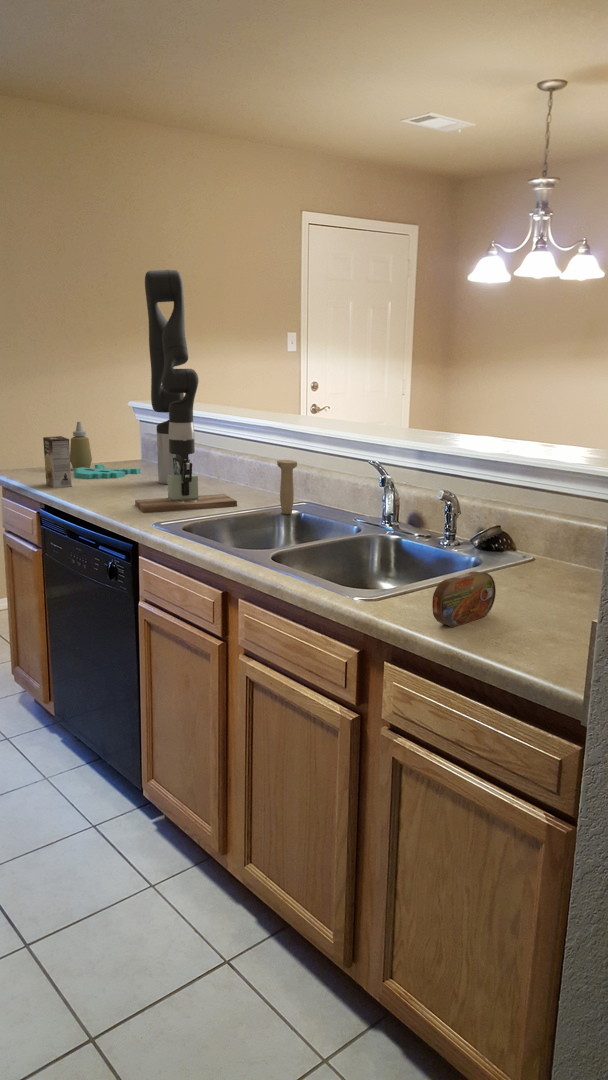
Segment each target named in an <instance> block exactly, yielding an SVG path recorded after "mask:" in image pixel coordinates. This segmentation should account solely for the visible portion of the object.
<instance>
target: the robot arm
mask: <svg viewBox="0 0 608 1080" xmlns="http://www.w3.org/2000/svg"><path fill="white" fill-rule="evenodd" d="M144 289H145V291H144V292H145V298H146V307H147V316H148V348H149V349H148V350H149V360H150V371H151V372H150V373H151V375H150V377H151V378H150V379H151V380H150V381H151V382H150V383H151V384H150V389H151V390H150V398H151V399H150V403H151V407H152V408H151V409H152V410H153V411H154V412H156V413H168V419H167V420H164V421H162V422H160V423H158V424H157V425H156V448H157V453H156V454H157V479H158V483H159V484H163V485H164V484H165V485H168V478H167V475H178V474H179V476H180V477H181V490H182V495H183V496H188V495H189V483H190V482H191V481H192V474H193V463H192V462H191V460H190V459H189V458H190V457H189V455H192V454H194V453H195V451H196V449H195V448H196V447H195V442H196V441H195V426H194V404H195V397H196V394H197V390H198V386H199V381H200V379H199V375H198V373H197V371H196V370H195V369H193V368H175V367H178V366H182V365H184V364H186V363H187V362H188V360H189V352H188V344H187V337H186V329H185V328H186V326H185V324H186V323H185V298H184V297H185V296H184V284H183V278H182V276H181V273H180V271H178V269H156V270H155V269H154V270H153V269H152V270H149V271H146V273H145V276H144ZM169 302H172V303H173V308H172V312H171V315H170V317H169V318H168V320H167V319H166V317H165V316H164V315H163V313H162V311H161V310H160V307H159V306H158V303H169ZM184 394H185V395H184ZM185 476H187V478H185Z"/></svg>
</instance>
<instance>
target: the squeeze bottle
mask: <svg viewBox="0 0 608 1080" xmlns="http://www.w3.org/2000/svg"><path fill="white" fill-rule="evenodd" d="M69 445H70V465H71V467H72V469H73V470H74V469H75V468H81V467H85V468H91V464H92V461H93V457H92V452H91V445H90V439H89V437H87V432H86V431H84V430H83V425H82V423H81V421H77V422H76V428H75V430H74V431H73V432H72V437H71V438H70V444H69Z"/></svg>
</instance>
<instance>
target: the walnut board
mask: <svg viewBox="0 0 608 1080" xmlns="http://www.w3.org/2000/svg"><path fill="white" fill-rule="evenodd" d="M134 504H135V505H134V506H136V507H137V508H139V510H140V511H142V512H143V513H156V512H157V513H158V512H159V513H160V512H169V511H171V512H172V511H173V512H174V511H184V510H186V511H187V510H198V509H199V510H201V509H213V508H224V507H226V508H228V507H238V501H237V500H236V499H234V498H232V497H231V496H229V495H227V494H225V493H221V494H205V495H203V494H202V495H198V499H193V500H178V501H172V500H170V499H169V498H168V497H162V498H161V497H160V498H159V497H158V498H146V499H135V500H134ZM200 508H201V509H200Z"/></svg>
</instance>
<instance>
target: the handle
mask: <svg viewBox="0 0 608 1080" xmlns="http://www.w3.org/2000/svg"><path fill="white" fill-rule="evenodd" d="M276 462H277V463H276V465H277V467H278V468H279V469H280V471H281V472H280V489H279V491H280V492H279V502H280V508H281V514H282V515H291V514H292V513H293V507H294V498H295V497H294V495H295V491H294V469H295V468H297V467H298V462H297V460H293V459H279V460H276Z"/></svg>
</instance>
